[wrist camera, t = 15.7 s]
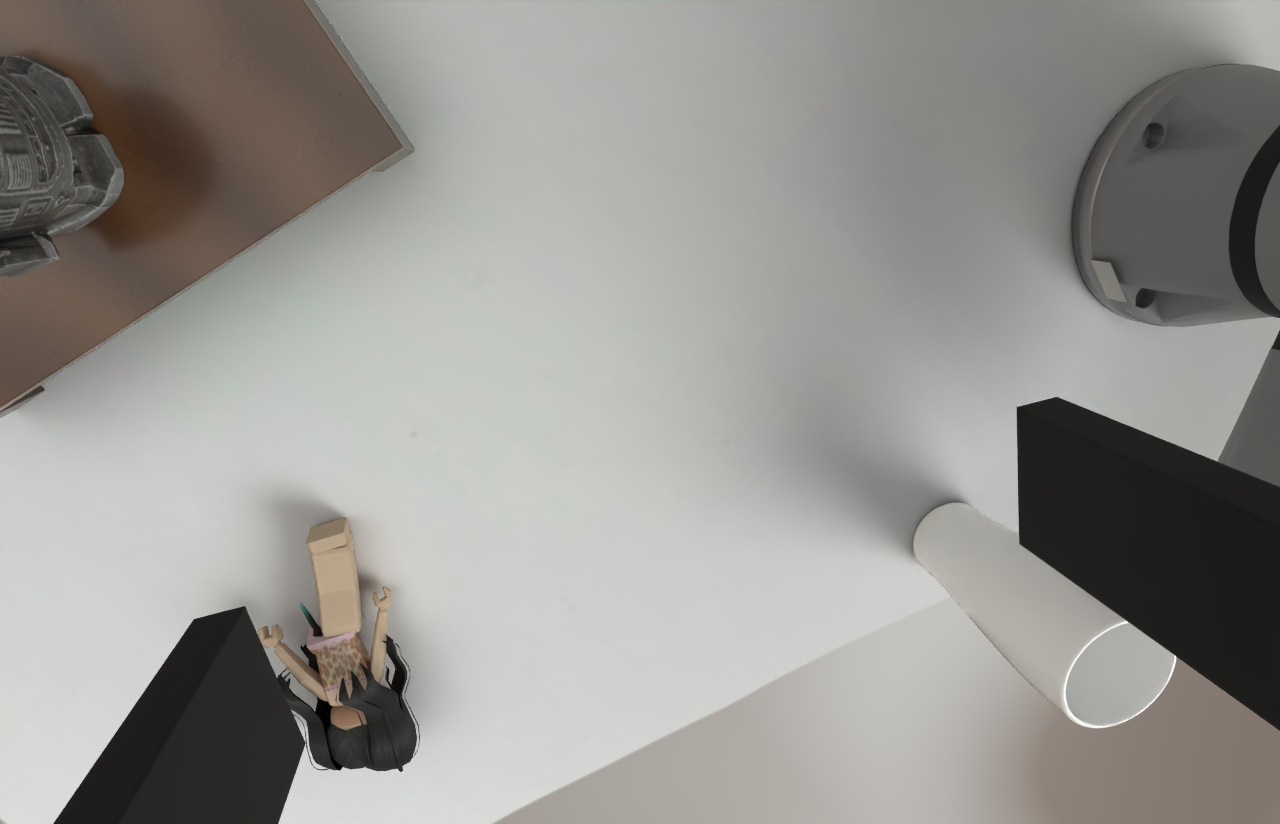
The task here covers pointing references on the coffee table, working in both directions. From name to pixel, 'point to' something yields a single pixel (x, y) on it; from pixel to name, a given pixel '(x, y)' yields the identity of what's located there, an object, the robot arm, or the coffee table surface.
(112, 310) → the shelf
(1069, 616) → the drinking glass
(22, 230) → the toy
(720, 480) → the coffee table surface
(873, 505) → the coffee table surface
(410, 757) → the toy figure
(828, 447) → the coffee table surface
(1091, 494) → the robot arm
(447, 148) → the coffee table surface
